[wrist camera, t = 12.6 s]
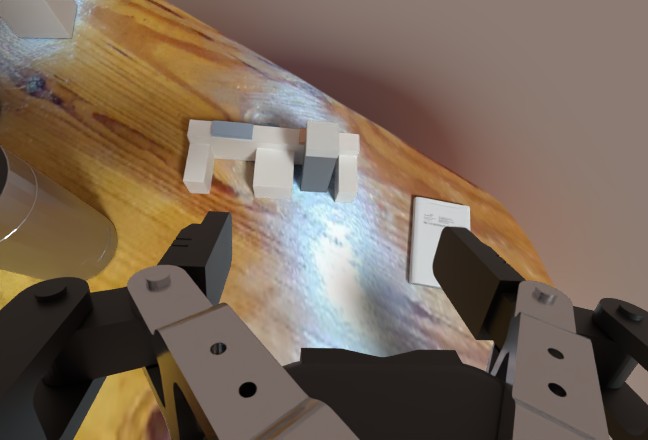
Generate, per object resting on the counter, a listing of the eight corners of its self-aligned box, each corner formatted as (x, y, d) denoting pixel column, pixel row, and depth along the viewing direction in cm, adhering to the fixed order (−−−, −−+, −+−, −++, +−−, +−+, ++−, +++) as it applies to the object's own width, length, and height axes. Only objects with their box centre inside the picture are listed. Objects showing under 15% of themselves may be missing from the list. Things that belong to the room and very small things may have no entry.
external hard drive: (407, 284, 43) (412, 200, 48) (465, 294, 44) (465, 210, 48) (411, 282, 42) (416, 195, 46) (472, 293, 42) (471, 206, 47)
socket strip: (190, 192, 43) (177, 172, 38) (199, 141, 46) (188, 116, 41) (352, 203, 46) (361, 186, 41) (351, 154, 48) (360, 131, 43)
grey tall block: (300, 190, 45) (306, 148, 35) (301, 168, 47) (307, 120, 36) (326, 192, 46) (339, 150, 36) (326, 169, 47) (339, 123, 37)
